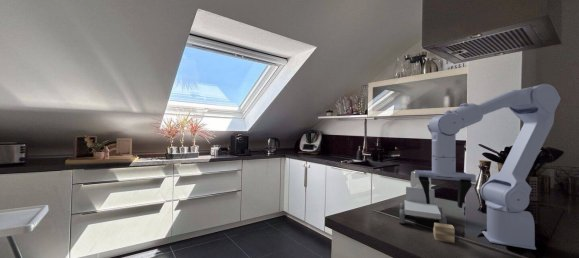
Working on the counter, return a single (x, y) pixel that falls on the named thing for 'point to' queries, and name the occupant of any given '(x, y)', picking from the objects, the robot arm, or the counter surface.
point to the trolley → (420, 205)
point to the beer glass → (417, 181)
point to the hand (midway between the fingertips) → (443, 205)
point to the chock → (444, 232)
